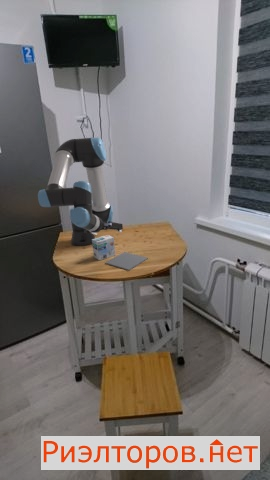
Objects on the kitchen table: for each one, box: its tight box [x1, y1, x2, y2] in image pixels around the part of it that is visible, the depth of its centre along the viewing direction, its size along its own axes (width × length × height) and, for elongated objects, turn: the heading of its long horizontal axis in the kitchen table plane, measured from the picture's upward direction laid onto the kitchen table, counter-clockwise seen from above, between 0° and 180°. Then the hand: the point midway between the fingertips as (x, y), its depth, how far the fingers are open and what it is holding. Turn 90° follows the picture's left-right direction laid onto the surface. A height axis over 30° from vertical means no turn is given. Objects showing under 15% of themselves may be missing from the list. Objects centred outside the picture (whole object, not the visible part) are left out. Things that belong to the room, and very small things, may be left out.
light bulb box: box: [91, 234, 116, 261], centre depth 155 cm, size 11×7×11 cm, turn 126°
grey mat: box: [104, 251, 149, 271], centre depth 149 cm, size 16×16×1 cm
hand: (108, 231), depth 148 cm, fingers open, 13 cm apart
